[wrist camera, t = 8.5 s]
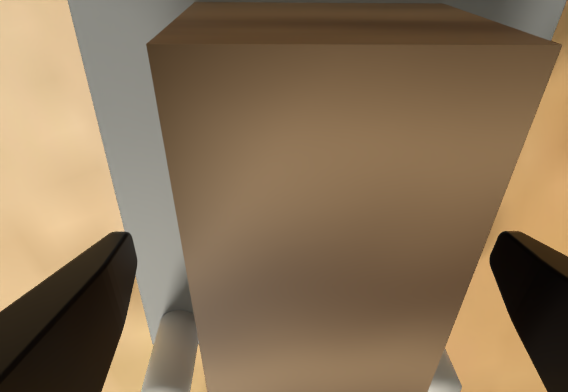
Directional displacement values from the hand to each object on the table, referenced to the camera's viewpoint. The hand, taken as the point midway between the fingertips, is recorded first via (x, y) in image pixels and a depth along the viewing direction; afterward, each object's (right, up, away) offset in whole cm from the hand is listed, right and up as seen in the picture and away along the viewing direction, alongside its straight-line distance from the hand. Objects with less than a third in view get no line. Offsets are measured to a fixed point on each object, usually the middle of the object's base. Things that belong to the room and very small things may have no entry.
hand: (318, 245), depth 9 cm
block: (0, +2, +3) cm, 3 cm away
